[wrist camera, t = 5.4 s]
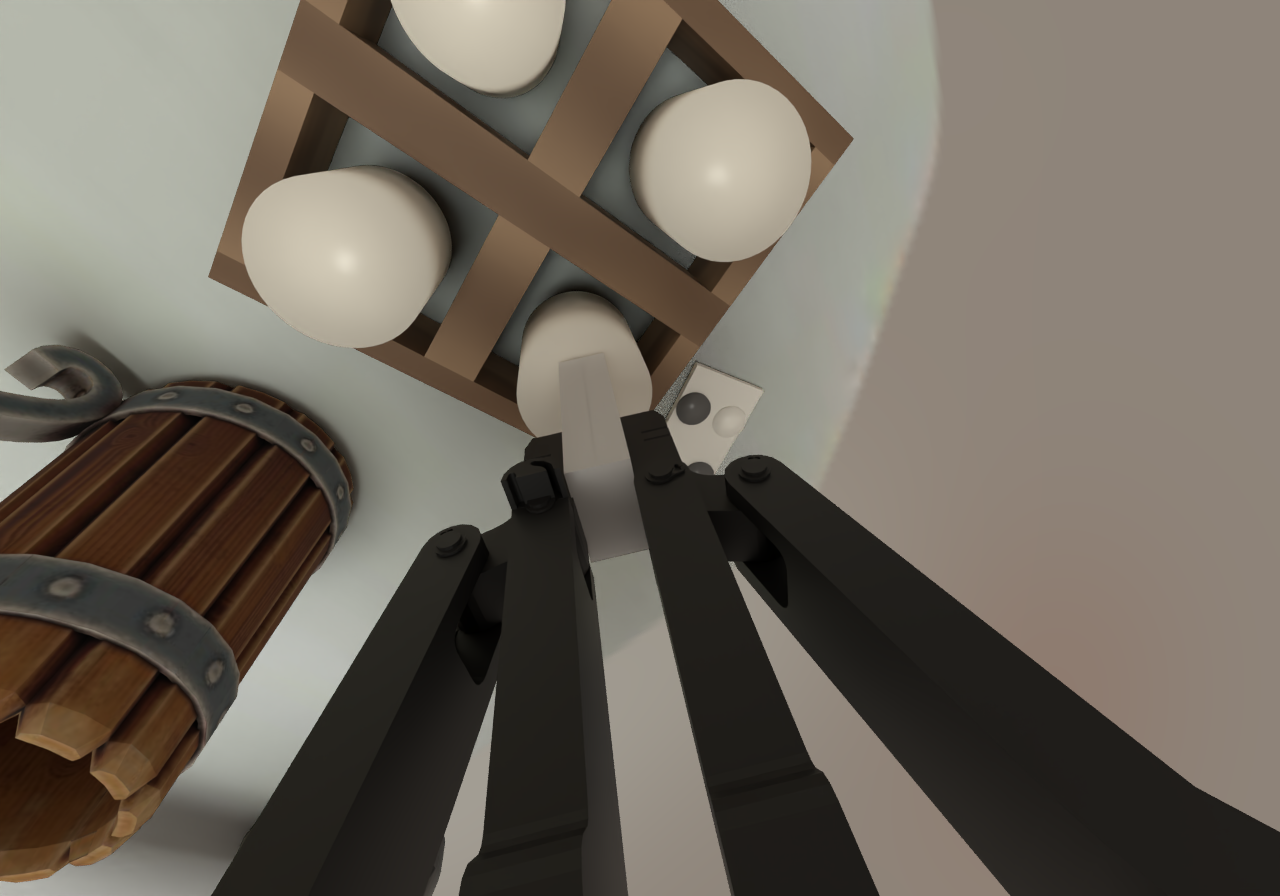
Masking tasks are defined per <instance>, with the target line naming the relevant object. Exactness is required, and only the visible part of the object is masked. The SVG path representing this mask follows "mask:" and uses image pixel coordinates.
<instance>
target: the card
mask: <svg viewBox="0 0 1280 896" xmlns="http://www.w3.org/2000/svg"><path fill="white" fill-rule="evenodd" d="M763 392H764V390H763V389H762V388H760V387H757V386H755V385H752V384H750V383H747V382H745V381H742V380H740V379H737V378H735V377H732V376H730V375H728V374H725V373H723V372H720V371H718V370H715V369H713V368H710V367H708V366H705V365H703V364H700V363H698V362H695V364H694V366H693V368H692V370H691V372H690V374H689V376H688V378H687V379H686V381H685V383H684V385H683V387H682V389H681V391H680V393H679V395H678V397H677V399H676V401H675V403H674V404H673V406H672V408H671V410H670V412H669V414H668V416H667V418H666V420H665V421H666V423H667V426H668V428H669V431H670V433H671V436H672V438H673V441H674V443H675V446H676V448H677V450H678V453H679V455H680V458H681V460H682V462H684V463H685V464H686V465H687V466H688V467H689V469H690V471H693V472H695V473H698V474H703V475H715V473H716V472H717V470H718V468H719V466H720V465H721V463H722V461H723V460H724V458H725V456H726V455H727V453H728V451H729V450H730V448H731V446H732V445H733V443H734V441H735V440H736V438H737V436H738V435H739V433H740V432H741V431H742V430H743V429H744V427H745V425H746V421H747V419H748V418H749V416H750V414H751V413H752V411H753V409H754V408H755V406H756V404H757V403H758V401H759V399H760V397H761V396H762V394H763Z"/></svg>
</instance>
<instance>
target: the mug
mask: <svg viewBox="0 0 1280 896" xmlns="http://www.w3.org/2000/svg"><path fill="white" fill-rule="evenodd" d="M4 370H5V371H7V372H8V373H9V374H11V375H12V376H13V377H14V378H16V379H17V380H18V381H20V382H21V383H22V384H24V385H25V386H26V387H27V388H29V389H30V390H33V389H35V388H37V387H42V386H46V387H50V388H53V389H55V390H57V391H58V392H59V393H61V394H62V395H63V397H64V398H65V399H62V400H56V399H43V398H36V397H30V396H23V395H18V394H13V393H7V392H2V391H0V440H1V441H12V442H41V443H42V442H52V441H60V440H64V439H68V438H71V437H74V436H76V435H78V434H79V435H78V436H77V437H75V438H74V439H73V440H72V441H71V442H70V443H69V444H68V445H67V446H66V449H65V451H64V452H63V453H62V454H61V455H59V456H58V457H57V458H56V459H54V460H53V461H52V462H51V463H49V464H48V465H47V466H46V467H44V468H43V469H42V470H41V471H39V472H38V473H37V474H36V475H34V476H33V477H32V478H31V479H29V480H28V481H27V482H26V483H24V484H23V485H22V486H21V487H19V488H18V489H17V490H16V491H14V492H13V493H12V494H11V495H9V496H8V497H7V498H5V499H4V500H3V501H2V502H0V881H6V882H15V883H16V882H24V881H31V880H37V879H43V878H48V877H50V876H51V875H53V874H54V873H55V872H57V871H58V870H60V869H61V868H63V867H64V866H65V865H67V864H68V863H70V864H72V865H74V866H83V865H92V864H94V863H96V862H98V861H100V860H102V859H104V858H106V857H107V856H109V855H111V854H112V853H113V852H114V851H115V850H117V849H118V848H119V847H120V846H121V845H122V844H123V843H124V842H126V841H127V840H128V839H129V838H130V837H131V836H132V835H133V834H134V833H136V832H137V831H138V830H139V829H140V828H141V826H142V825H143V824H144V823H145V822H146V821H147V820H149V819H150V818H151V817H152V815H153V814H154V812H155V811H156V809H157V808H158V806H159V805H160V803H161V802H162V800H163V799H164V797H165V796H166V794H167V793H168V791H169V790H170V788H171V787H172V785H173V784H174V782H175V781H176V779H177V778H178V776H179V775H180V774H181V773H183V772H184V771H186V770H187V769H188V768H190V767H191V766H192V765H193V763H194V762H195V760H196V759H197V757H198V756H199V754H200V753H201V751H202V750H203V748H204V747H205V745H206V743H207V742H208V740H209V739H210V737H211V736H212V734H213V733H214V731H215V730H216V728H217V727H218V725H219V723H220V722H221V720H222V719H223V717H224V716H225V714H226V713H227V711H228V710H229V708H230V707H231V705H232V703H233V702H234V700H235V699H236V697H237V693H238V685H239V684H240V682H241V681H242V679H243V678H244V676H245V675H246V673H247V672H248V670H249V669H250V667H251V666H252V664H253V663H254V661H255V660H256V658H257V657H258V655H259V654H260V652H261V651H262V649H263V648H264V646H265V645H266V643H267V641H268V640H269V638H270V637H271V635H272V634H273V632H274V631H275V629H276V628H277V626H278V625H279V623H280V622H281V620H282V619H283V617H284V616H285V614H286V613H287V611H288V610H289V608H290V607H291V605H292V604H293V602H294V601H295V599H296V598H297V596H298V595H299V593H300V592H301V590H302V589H303V587H304V586H305V584H306V582H307V581H308V579H309V578H310V576H311V575H312V574H313V573H315V572H316V571H317V570H318V569H320V567H321V566H322V564H323V563H324V561H325V560H326V558H327V557H328V555H329V554H330V552H331V551H332V549H333V548H334V546H335V545H336V543H337V541H338V540H339V538H340V537H341V535H342V534H343V532H344V531H345V529H346V528H347V524H348V519H349V515H350V512H351V508H352V505H353V501H352V499H351V496H350V493H351V492H352V491H353V489H354V488H353V483H352V478H351V473H350V470H349V468H348V466H347V463H346V461H345V459H344V457H343V456H342V455H341V454H340V453H339V452H338V451H337V450H336V449H335V448H334V442H333V441H332V440H331V439H330V437H329V436H328V435H327V434H326V433H325V432H324V431H323V430H322V429H321V428H320V427H319V426H318V425H317V424H315V423H314V422H313V421H312V420H310V419H309V418H308V417H307V416H305V415H304V414H303V413H300V412H298V411H295V410H293V409H292V408H291V407H290V406H288V405H287V404H286V403H285V402H283V401H280V400H278V399H276V398H274V397H272V396H269V395H267V394H265V393H263V392H259V391H256V390H253V389H249V388H246V387H243V386H239V385H238V386H236V387H235V388H233V387H231V386H228V385H225V384H222V383H219V382H216V381H184V382H175V383H168V384H167V385H166V386H165V387H163V388H161V389H148V390H146V391H143V392H141V393H139V394H136V395H134V396H132V397H130V398H128V399H125V400H123V401H122V398H123V393H122V388H121V384H120V383H119V381H118V380H117V378H116V377H115V375H114V374H113V373H112V371H111V370H109V369H108V368H107V367H106V366H105V365H104V364H102V363H101V362H100V361H99V360H98V359H96V358H94V357H92V356H90V355H88V354H86V353H84V352H82V351H80V350H78V349H74V348H70V347H66V346H61V345H48V346H41V347H38V348H35V349H33V350H31V351H30V352H28V353H27V354H26V355H24V356H23V357H21V358H20V359H19V360H17V361H16V362H14V363H13V364H12V365H10V366H9V367H7V368H6V369H4Z"/></svg>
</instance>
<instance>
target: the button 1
mask: <svg viewBox="0 0 1280 896" xmlns="http://www.w3.org/2000/svg"><path fill="white" fill-rule="evenodd" d="M242 253H243V258H244V263H245V266H246V269H247V272H248V275H249V277H250V279H251V281H252V283H253V285H254V287H255V288H256V290H257V292H258V293H259V295H260V296H261V298H262V299H263V300H264V301H265V303H266V304H267V305H268V306H269V308H270V309H271V310H272V311H273V312H274V313H275V314H276V315H277V316H278V317H280V318H281V319H282V320H283V321H284V322H286V323H287V324H288V325H290V326H291V327H293V328H294V329H296V330H297V331H299V332H301V333H302V334H304V335H306V336H308V337H310V338H312V339H315V340H317V341H320V342H323V343H326V344H329V345H334V346H339V347H347V348H365V347H371V346H376V345H379V344H383V343H385V342H388V341H390V340H392V339H394V338H395V337H397V336H399V335H400V334H401V333H403V332H404V331H405V330H406V329H407V328H408V327H409V326H410V325H411V324H412V323H413V321H414V320H415V319H416V317H417V316H418V314H419V313H420V312H421V310H422V309H423V307H424V306H425V304H426V303H427V302H428V300H429V299H430V297H431V296H432V294H433V293H434V292H435V290H436V289H437V287H438V286H439V284H440V283H441V282H442V280H443V278H444V277H445V275H446V273H447V271H448V268H449V265H450V261H451V255H452V240H451V234H450V230H449V227H448V223H447V221H446V219H445V216H444V214H443V212H442V211H441V209H440V207H439V206H438V204H437V203H436V201H435V200H434V199H433V198H432V196H431V195H430V194H429V193H428V192H427V191H426V190H425V189H424V188H423V187H422V186H421V185H419V184H418V183H417V182H415V181H414V180H412V179H411V178H409V177H408V176H406V175H404V174H402V173H400V172H397V171H395V170H393V169H389V168H386V167H381V166H374V165H362V166H354V167H348V168H342V169H336V170H330V171H324V172H317V173H311V174H305V175H299V176H294V177H290V178H287V179H283V180H281V181H279V182H277V183H275V184H273V185H271V186H270V187H269V188H267V189H266V190H264V191H263V192H262V193H261V194H260V195H259V196H258V197H257V198H256V199H255V201H254V202H253V204H252V205H251V207H250V208H249V211H248V213H247V215H246V217H245V221H244V225H243V229H242Z"/></svg>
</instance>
